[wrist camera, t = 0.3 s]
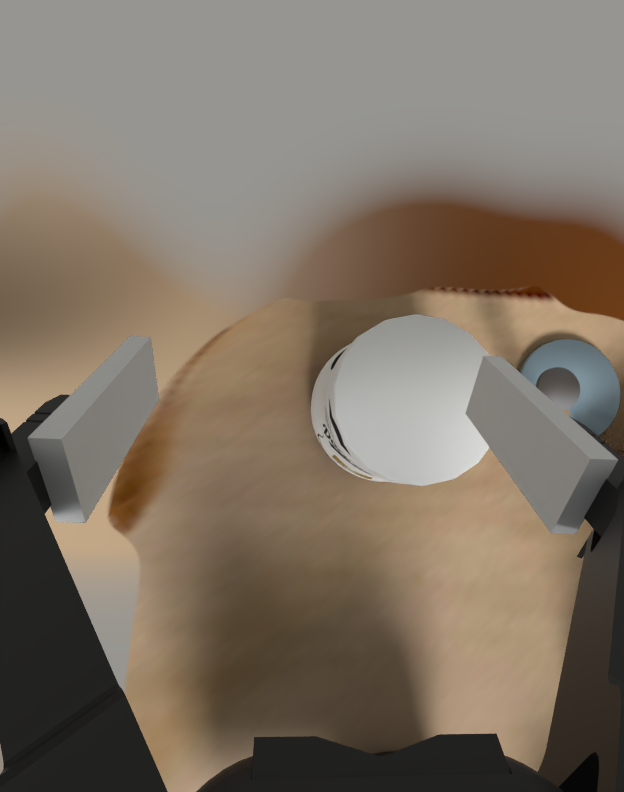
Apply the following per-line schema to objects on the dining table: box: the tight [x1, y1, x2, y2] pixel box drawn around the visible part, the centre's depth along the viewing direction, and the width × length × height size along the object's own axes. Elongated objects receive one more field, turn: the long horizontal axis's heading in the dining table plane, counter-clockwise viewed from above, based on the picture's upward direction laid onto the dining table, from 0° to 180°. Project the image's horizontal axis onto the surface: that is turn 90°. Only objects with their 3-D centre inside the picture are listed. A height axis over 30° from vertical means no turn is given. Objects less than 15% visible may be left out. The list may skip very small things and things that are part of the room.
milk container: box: [311, 314, 489, 486], centre depth 43 cm, size 17×17×18 cm
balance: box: [536, 367, 580, 417], centre depth 47 cm, size 18×4×13 cm, turn 28°
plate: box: [519, 339, 620, 436], centre depth 54 cm, size 14×14×1 cm
